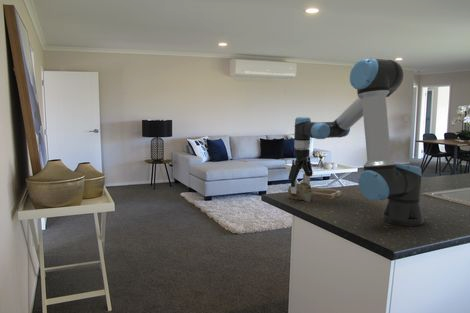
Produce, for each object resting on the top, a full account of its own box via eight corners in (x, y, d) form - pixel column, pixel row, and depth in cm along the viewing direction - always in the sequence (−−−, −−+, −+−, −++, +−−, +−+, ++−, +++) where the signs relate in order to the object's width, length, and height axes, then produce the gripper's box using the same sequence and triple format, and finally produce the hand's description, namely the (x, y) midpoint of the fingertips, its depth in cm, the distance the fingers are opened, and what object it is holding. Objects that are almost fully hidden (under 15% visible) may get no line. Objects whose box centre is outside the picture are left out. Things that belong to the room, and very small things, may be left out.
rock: (317, 197, 187) (311, 178, 187) (311, 202, 182) (304, 182, 182) (298, 201, 195) (291, 183, 195) (291, 205, 191) (284, 186, 190)
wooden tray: (330, 199, 189) (331, 177, 187) (300, 194, 199) (300, 174, 198) (341, 194, 199) (342, 174, 197) (312, 190, 209) (312, 170, 208)
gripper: (295, 151, 174) (294, 196, 177) (320, 147, 193) (318, 187, 196) (281, 150, 179) (280, 194, 182) (307, 145, 198) (305, 185, 201)
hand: (300, 190), depth 189 cm, fingers open, 13 cm apart
